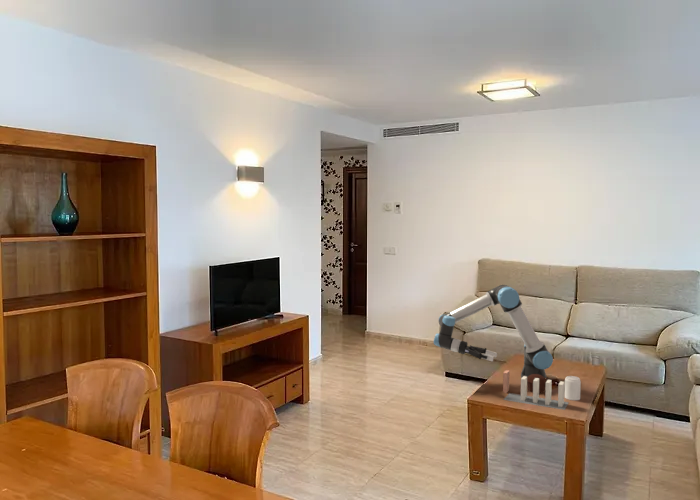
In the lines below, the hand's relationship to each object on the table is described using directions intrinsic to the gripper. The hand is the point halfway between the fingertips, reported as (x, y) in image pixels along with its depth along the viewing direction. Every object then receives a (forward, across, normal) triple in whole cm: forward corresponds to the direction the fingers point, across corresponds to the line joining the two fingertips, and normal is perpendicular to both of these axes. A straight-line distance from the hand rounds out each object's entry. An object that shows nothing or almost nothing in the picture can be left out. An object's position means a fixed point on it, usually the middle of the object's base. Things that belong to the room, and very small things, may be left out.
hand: (495, 357), depth 319 cm
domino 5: (+40, +12, -12) cm, 44 cm away
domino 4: (+34, +11, -13) cm, 38 cm away
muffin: (+26, -8, -14) cm, 31 cm away
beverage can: (+45, -2, -10) cm, 46 cm away
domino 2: (+21, +10, -16) cm, 28 cm away
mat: (+28, +10, -15) cm, 33 cm away
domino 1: (+10, -1, -18) cm, 21 cm away
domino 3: (+27, +10, -14) cm, 33 cm away
